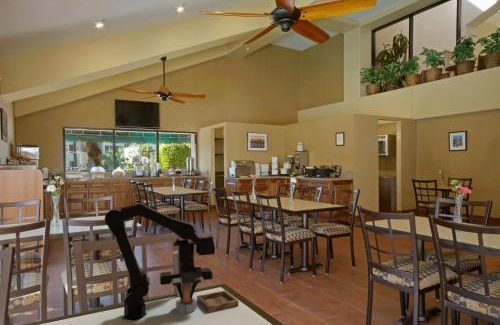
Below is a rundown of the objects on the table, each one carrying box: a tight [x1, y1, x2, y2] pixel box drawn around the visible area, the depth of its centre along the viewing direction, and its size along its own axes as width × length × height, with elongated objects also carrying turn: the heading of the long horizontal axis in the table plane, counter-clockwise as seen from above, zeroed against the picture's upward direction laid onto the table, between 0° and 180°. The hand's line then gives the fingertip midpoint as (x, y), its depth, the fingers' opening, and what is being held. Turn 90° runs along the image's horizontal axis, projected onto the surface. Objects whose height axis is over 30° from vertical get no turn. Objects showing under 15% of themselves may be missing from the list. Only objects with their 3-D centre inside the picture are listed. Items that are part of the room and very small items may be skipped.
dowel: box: [182, 283, 191, 305], centre depth 124 cm, size 3×3×9 cm
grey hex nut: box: [175, 297, 198, 315], centre depth 124 cm, size 7×7×3 cm
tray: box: [196, 290, 239, 314], centre depth 129 cm, size 12×12×2 cm
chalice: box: [173, 250, 183, 298], centre depth 138 cm, size 7×7×18 cm
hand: (186, 299), depth 124 cm, fingers closed on dowel, 3 cm apart
